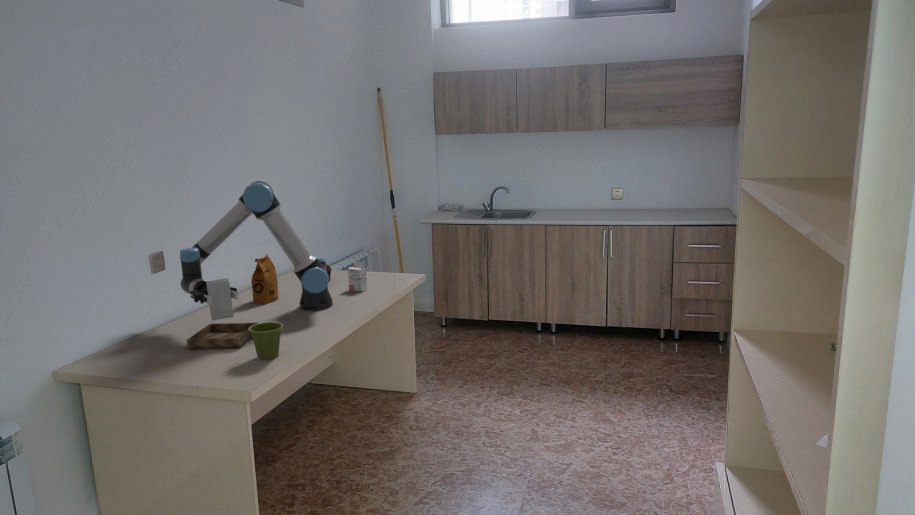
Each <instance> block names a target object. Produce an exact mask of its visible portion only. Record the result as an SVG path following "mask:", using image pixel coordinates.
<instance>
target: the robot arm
mask: <svg viewBox="0 0 915 515" xmlns="http://www.w3.org/2000/svg"><path fill="white" fill-rule="evenodd" d="M281 206H282V205H281V202H280V201H279V199H278V198H277V196H276V195H275V193H274V191H273V188H272V187H271V186H270V184H269V183H267V182H266V181H260V180H257V181H252V182H251V183H250V184H248V185H247V186H246V187H245V189H244V191H243V194H241V196H240V197H239V198H238V201H237V203H236V204H234V206H233V207H231V209H230V210H229V211H228V212H226V214H224V216H223V217H221V218H220V219H219V221H217V223H215V224H214V225H213V226H212V227H211V228H210V229H209V230H208V231H207V232H206V233H205V234H204V235H203V236H202V237H201V238H200V239H199V240H198V241H197V242H196V243H194V245H193V246H192V247H184V248H182V249H180V250H179V259H180V266H181V272H182V274H181V275H182V277H181V278H182V279H181V280H180V287H181V290H182V291H184V292H185V293H186V294H190V298H191V299H193V302H195V304H196V303H199V302H200V304H202V305H203V304H205V303H206V304H210V305H212V304H213V302H212V297H210V296H208V291H207V284H206V281H207V280H206V279H203V272H202V266H201V265H202V264H203V263H204V261H206V259H207V258H209V256H210V255H211V254H213V252H214V251H215V250H216V249H217V248H219V247H220V246H221V245H222V244H223V243H224V242H225V241H226V240H227V239H228V238H229V237H230V236H231V235H232V234H233V233H234V232H235V231H236V230H238V228H239V227H240V226H241V225H242V224H244V223H245V221H246V220H247V219H248V218H250V217H251V215H254V217H255V218H256V220H259V221H262V222H263V223H264V225H265V226H266V227H267V229H268V231H269V233H271V235H272V236H273V238H274V239H275V241H276V242H277V243H278V246H280V248H281V249H282V251H283V252H284V254H285V255H286V256H287V258H288V259H289V261H290V262H291V263H292V266H293V273H294V275H295V276H296V277H297V279H298V281H300V283H301V290H302V291H301V294H300V300H299V309H300V310H303V311H319V310H320V309H321V310H326V309H329V308H331V307H333V305H334V304H333V303H334V302H333V299H332V296H331V294H330V291H329V288H328V287H329V283H330V282H329V276H328V274H327V270H326V264H327V262H326V261H327V260H326V258H325V257H321V256H320V257H319V256H314V255H311V253H310V251H309V250H308V249H307V247H306V246H305V244H304V243H303V241H302V240H301V238H300V236H299V235H298V234H297V232H296V231H295V230H294V228H293V227H292V225H291V224H290V222H289V221H288V219H287V218H286V216H285V215H284V214H283V212H282V210H281ZM230 291H231V299H234V300H239V295H238V289H237V288H236V287H232V286H230ZM210 305H209V306H210ZM328 307H329V308H328ZM325 308H326V309H325Z"/></svg>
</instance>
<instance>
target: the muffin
mask: <svg viewBox="0 0 915 515" xmlns="http://www.w3.org/2000/svg"><path fill="white" fill-rule="evenodd" d="M326 270H327V274H328V276H329V281H330V282H331V278H332V277H331V274H332V267H331V266H330V265H329V264H327V263H326Z"/></svg>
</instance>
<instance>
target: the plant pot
mask: <svg viewBox="0 0 915 515" xmlns="http://www.w3.org/2000/svg"><path fill="white" fill-rule="evenodd" d="M283 327H284V325H283V323H280V322H276V321H272V322H271V321H270V322H269V321H268V322H267V321H266V322H262V323H259V322H258V324H256V325H253V326H251V327H249V329H248V330H249V331H250V332H251V335H252V337H253V338H252V340H253V345H254V348H255V352H256V355H257V356H256V357H257V358H258V359H259V360H267V361H269V360H273V359H276V358H277V357H279V355H280V354H279V353H280V345H281V344H280V342H281V335H282V328H283Z"/></svg>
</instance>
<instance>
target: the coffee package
mask: <svg viewBox="0 0 915 515" xmlns="http://www.w3.org/2000/svg"><path fill="white" fill-rule="evenodd" d="M254 262H256V266H255V269H254V272H253V273H252V275H251V290H252V301H253V303H254V304H259V303H262V305H265V304H266V305H269V304H270V303H271V302H274V301H277V299H279V286H278V277H277V271H276V266H275V265H274V262H273V261H272V259H271V258H270V256H269V254H266V255H264V257H258V258H255V259H254Z"/></svg>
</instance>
